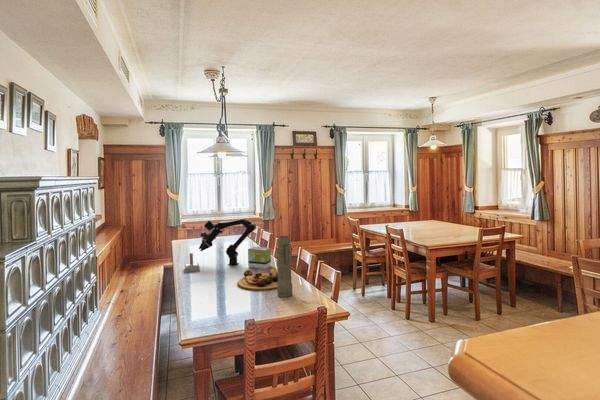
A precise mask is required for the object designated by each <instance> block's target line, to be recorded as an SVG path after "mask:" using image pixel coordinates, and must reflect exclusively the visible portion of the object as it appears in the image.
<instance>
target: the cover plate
mask: <svg viewBox="0 0 600 400" xmlns="http://www.w3.org/2000/svg"><path fill="white" fill-rule="evenodd" d="M185 264H186V266H188V265H198V262H197V263H194V253H193V252H190V253H189V263H185Z"/></svg>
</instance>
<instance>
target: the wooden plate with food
mask: <svg viewBox="0 0 600 400" xmlns="http://www.w3.org/2000/svg"><path fill="white" fill-rule="evenodd" d="M253 273H254V272H253V271H252V270H251V269H245V271H244V272H243V277H241V278H239V279H238V280H237V285H236V286H238V287H239V288H240V289H243V290H245V291H251V290H253V292H261V291H262V292H264V290H266V291H272V290H277V284H278V270H276V269H275V268H271V269H270V271H269V273H266V272H262V271H258V272H255V273H254V274H253Z"/></svg>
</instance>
